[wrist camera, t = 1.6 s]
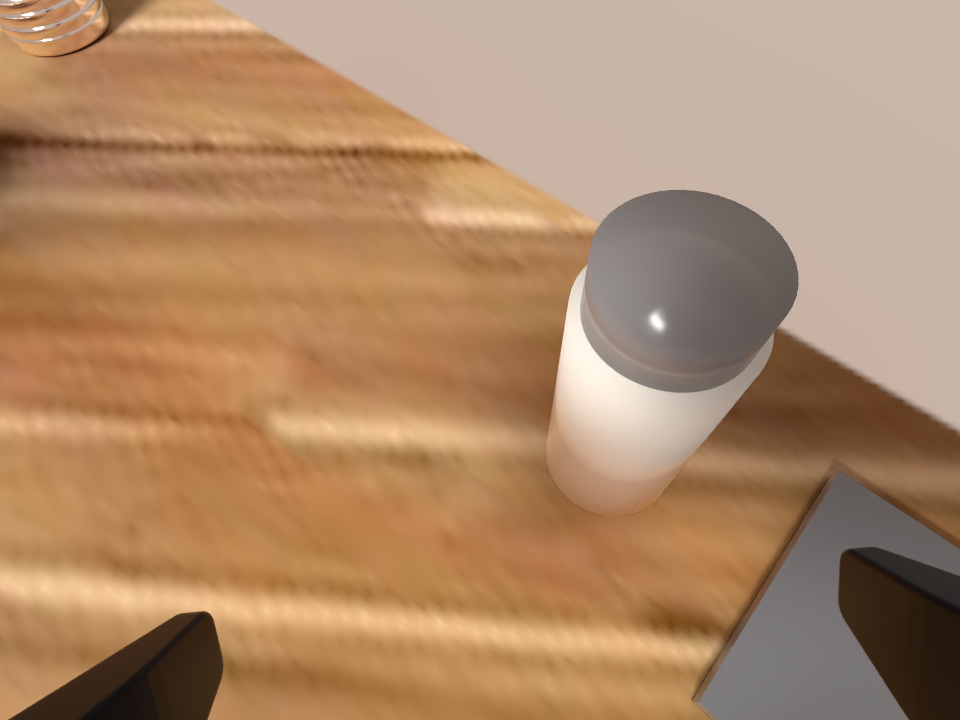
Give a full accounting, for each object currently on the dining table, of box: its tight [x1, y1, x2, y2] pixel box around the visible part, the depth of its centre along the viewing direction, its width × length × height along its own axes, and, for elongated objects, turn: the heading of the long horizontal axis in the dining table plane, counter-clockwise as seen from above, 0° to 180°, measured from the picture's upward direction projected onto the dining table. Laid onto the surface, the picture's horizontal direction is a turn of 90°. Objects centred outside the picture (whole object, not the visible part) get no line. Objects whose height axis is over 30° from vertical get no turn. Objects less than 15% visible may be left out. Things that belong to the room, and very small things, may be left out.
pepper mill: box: [546, 190, 798, 517], centre depth 17 cm, size 5×5×12 cm
